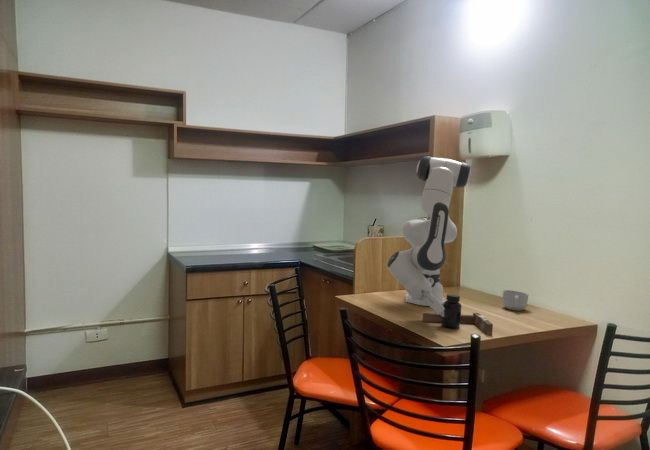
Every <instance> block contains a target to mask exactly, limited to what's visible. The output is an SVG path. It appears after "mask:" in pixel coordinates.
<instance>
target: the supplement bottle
mask: <svg viewBox="0 0 650 450" xmlns="http://www.w3.org/2000/svg"><path fill="white" fill-rule="evenodd" d="M460 298H461V296H460V295H457V294H452V293H451V294H449V293H447V295H446V300H444V301H445V302H444V303H443V304H442V306H443V307H444V308H445V310H444V317H442V322H440V323H441V326H442V327H444V328H449V329H459V328H460V325H461V323H460V317H461V315H462V304H461V302H460V301H461V300H460Z"/></svg>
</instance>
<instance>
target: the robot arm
mask: <svg viewBox="0 0 650 450" xmlns="http://www.w3.org/2000/svg"><path fill="white" fill-rule="evenodd" d="M416 176H417V178H418V179H419V180H421V181H423V182H425V184H424V187H423V192H422V195H421V204H420V205H421V210H423V212H425V214H426V215H427V216H428V217H429V219H423V218H422V219H421V218H416V219H415V218H414V219H409V220H407V221H405V222H404V224H403V226H402V230H401V231H402V236H403V238H404V239H405V241H406V242H407V243H408V244H409V245H410V246H411V248H409V249H405V250H398V251H396V252H394V253H393V254H392V255H391V256H390V258H389V259H388V262H387V268H388V271H389V272H390V274H391V275H392V276H393V277H394V279H396V280H397V282H398V283H399V284H401V285H402V286H403V287H404V290H405V291H406V292H407V293H406V294H405V300H404V302H405V303H410V304H415V305H418V306H424V307H426V306H427V307H428V306H429V308H431V310H432V311H433V313H436V314H437V315H439V314H440V315H441V316H442V317H444V310H445V308H444V307H443V303H444V302H445V301H446V300H444V297H443V296H444V295H443V294H444V293H443V292H444V287H443V285H442V284H441V272H440V271H441V268H442V267H443V265H444V264H445V262H446V249H445V244H447V243H452V242H455V240H456V238H457V235H458V228H457V226H456V224H455V223H454V222H453V221H452V220H451V218H450V214H449V213H450V212H449V211H450V209H449V208H450V204H451V200H452V196H453V191H454V187H455V188H464V187H466V186H467V184H469V181H470V179H471V176H472V171H471V167H470V164H469V163H466V162H463V161H462V162H461V161H457V160H454V159H450V158H444V157H435V156H433V157H432V156H431V155H428V156H427V155H426V156H423V157H421V158H420V160H419V161H418V163H417V165H416Z"/></svg>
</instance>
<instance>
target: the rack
mask: <svg viewBox="0 0 650 450" xmlns="http://www.w3.org/2000/svg"><path fill="white" fill-rule="evenodd" d="M422 322H423V323H441V322H442V316H441V315H440V314H439V315H437V314H436V313H435V312H433V313H432V312H431V313H430V312H422ZM460 324H463V325H464V324H469V325H475V326H476V327H477V328H478V329H479V330H481V331H482V332H483V333H484V334H485V335H487V336H492V335H493V326H494V325H493V323H492V322H491V321H489V319H488V318H487V317H485V316H484V315H482V314H480V313H479V312H472V314H461V317H460Z"/></svg>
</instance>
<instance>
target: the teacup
mask: <svg viewBox="0 0 650 450" xmlns="http://www.w3.org/2000/svg"><path fill="white" fill-rule="evenodd" d="M502 292H503V293H502V305H503V306H504V307H505V308H506V309H508V310H511V311H517V312H518V311H519V312H520V311H523V310H524V309H526V308H527V304H528V301H529V300H528V299H529V294H528V293H526V292H523V291H518V290H513V289H504V290H502Z"/></svg>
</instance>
